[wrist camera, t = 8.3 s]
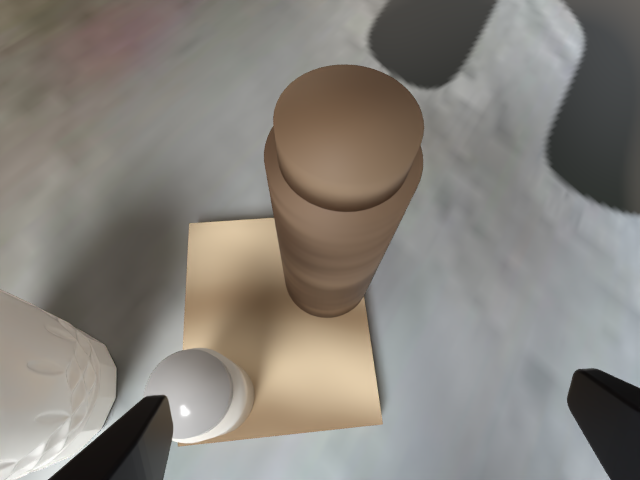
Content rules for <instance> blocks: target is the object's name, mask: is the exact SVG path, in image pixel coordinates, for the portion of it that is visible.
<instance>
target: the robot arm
mask: <svg viewBox="0 0 640 480" xmlns="http://www.w3.org/2000/svg"><path fill="white" fill-rule="evenodd" d="M567 403H568V407H569V409H570V411H571V413H572V415H573V416H574V418H575V420H576V422H577V423H578V425H579V427H580V428H581V430H582V432H583V434H584V435H585V437H586V439H587V440H588V442H589V444H590V446H591V447H592V449H593V451H594V452H595V454H596V456H597V458H598V459H599V461H600V463H601V464H602V466H603V468H604V469H605V471H606V473H607V474H608V476H609V478H610V479H611V480H640V388H638V387H636V386H634V385H631V384H629V383H627V382H625V381H623V380H621V379H618V378H616V377H614V376H612V375H610V374H607V373H605V372H603V371H601V370H598V369H594V368H589V369H578V370H576V371H575V372H574V374H573V377H572V381H571V385H570V388H569V392H568V396H567ZM172 437H173V421H172V415H171V410H170V405H169V400H168V398H167V396H165V395H150V396H146V397H144V398H143V399H142V400H141V401H139V402H138V403H137V404H136V405H135V406H134V407H132V408H131V409H130V410H129V411H128V412H127V413H125V414H124V415H123V416H122V417H121V418H120V419H118V420H117V421H116V422H115V423H114V424H113V425H111V426H110V427H109V428H108V429H107V430H105V431H104V432H103V433H102V434H101V435H100V436H98V437H97V438H96V439H95V440H94V441H93V442H91V443H90V444H89V445H88V446H87V447H86V448H84V449H83V450H82V451H81V452H80V453H79V454H77V455H76V456H75V457H74V458H73V459H72V460H70V461H69V462H68V463H67V464H66V465H65V466H63V467H62V468H61V469H60V470H59V471H58V472H56V473H55V474H54V475H53V476H52V477H51V478H49V479H48V480H163V478H164V473H165V469H166V464H167V460H168V455H169V451H170V446H171V442H172Z"/></svg>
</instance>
